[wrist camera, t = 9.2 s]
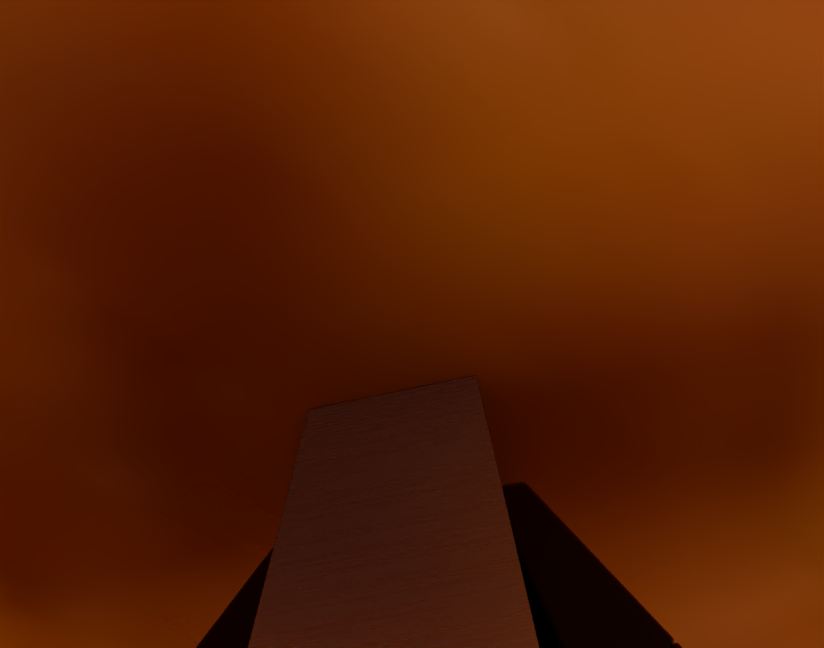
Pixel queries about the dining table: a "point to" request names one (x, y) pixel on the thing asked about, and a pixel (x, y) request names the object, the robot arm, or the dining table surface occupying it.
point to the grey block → (396, 531)
